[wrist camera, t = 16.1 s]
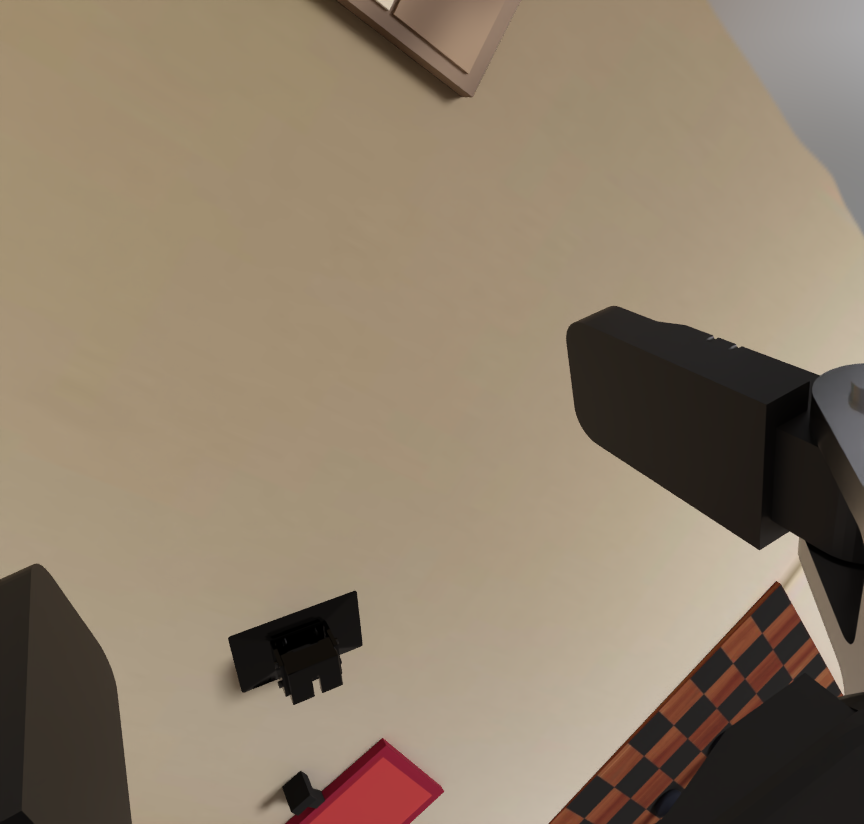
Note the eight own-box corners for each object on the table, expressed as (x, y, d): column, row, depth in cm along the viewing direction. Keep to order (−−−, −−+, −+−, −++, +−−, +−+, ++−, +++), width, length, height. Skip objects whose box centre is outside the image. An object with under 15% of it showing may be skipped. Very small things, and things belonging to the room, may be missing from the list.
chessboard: (773, 578, 79) (863, 642, 70) (841, 699, 102) (916, 758, 93) (529, 832, 77) (590, 930, 68) (655, 895, 101) (713, 974, 92)
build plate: (220, 702, 50) (233, 753, 46) (200, 627, 46) (212, 675, 43) (378, 641, 54) (402, 682, 51) (370, 568, 51) (395, 607, 47)
